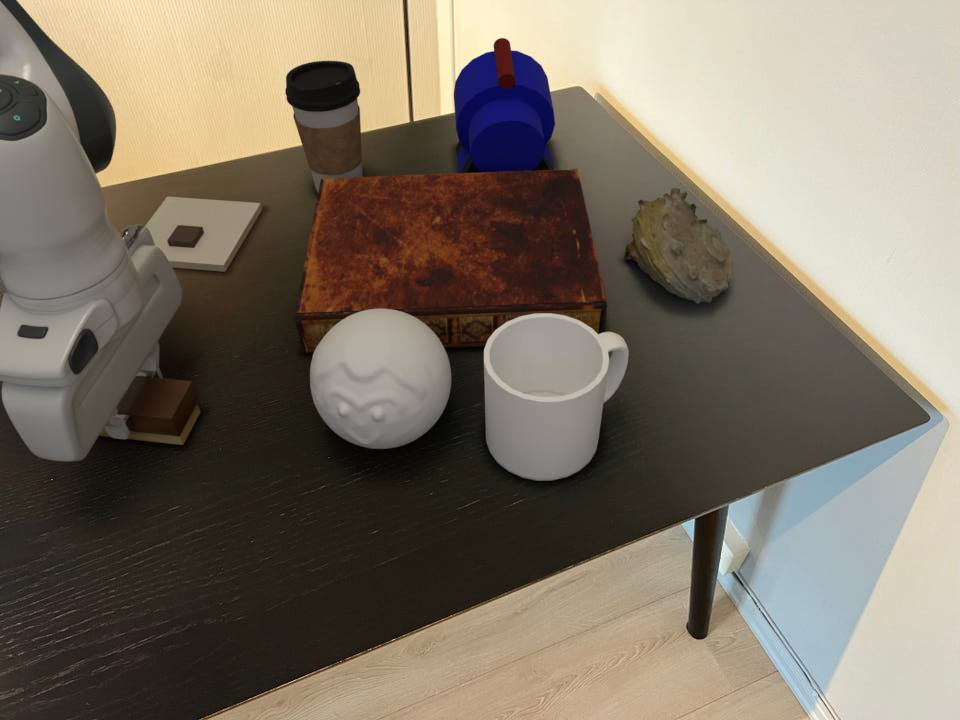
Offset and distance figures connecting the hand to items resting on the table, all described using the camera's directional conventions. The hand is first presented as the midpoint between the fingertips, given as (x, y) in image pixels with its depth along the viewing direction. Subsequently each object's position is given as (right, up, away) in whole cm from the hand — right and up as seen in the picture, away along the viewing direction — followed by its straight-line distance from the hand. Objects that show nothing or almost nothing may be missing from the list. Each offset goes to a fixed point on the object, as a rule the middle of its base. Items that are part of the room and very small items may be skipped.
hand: (138, 408), depth 71 cm
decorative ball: (+22, -2, +1) cm, 22 cm away
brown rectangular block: (0, -1, +2) cm, 2 cm away
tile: (-3, +19, +22) cm, 29 cm away
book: (+28, +14, +16) cm, 35 cm away
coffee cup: (+13, +26, +28) cm, 41 cm away
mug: (+37, -2, 0) cm, 37 cm away
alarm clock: (+34, +29, +31) cm, 54 cm away
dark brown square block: (-3, +18, +20) cm, 27 cm away
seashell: (+52, +14, +15) cm, 56 cm away
